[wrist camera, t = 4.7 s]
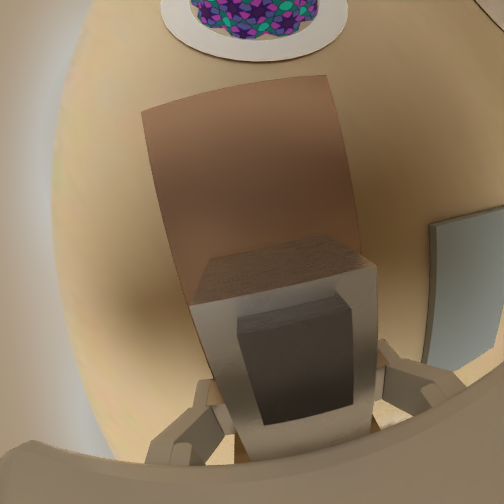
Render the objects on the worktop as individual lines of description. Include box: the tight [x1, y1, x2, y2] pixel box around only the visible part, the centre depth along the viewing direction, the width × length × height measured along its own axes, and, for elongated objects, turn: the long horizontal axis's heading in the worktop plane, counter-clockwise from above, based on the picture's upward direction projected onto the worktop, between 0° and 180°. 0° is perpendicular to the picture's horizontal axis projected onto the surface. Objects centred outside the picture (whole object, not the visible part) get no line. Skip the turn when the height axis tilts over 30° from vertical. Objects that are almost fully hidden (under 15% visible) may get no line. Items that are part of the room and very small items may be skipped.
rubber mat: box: [422, 206, 504, 372], centre depth 16 cm, size 14×10×1 cm
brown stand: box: [141, 75, 381, 464], centre depth 11 cm, size 22×7×11 cm, turn 12°
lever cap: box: [189, 234, 378, 462], centre depth 9 cm, size 10×4×5 cm, turn 12°
